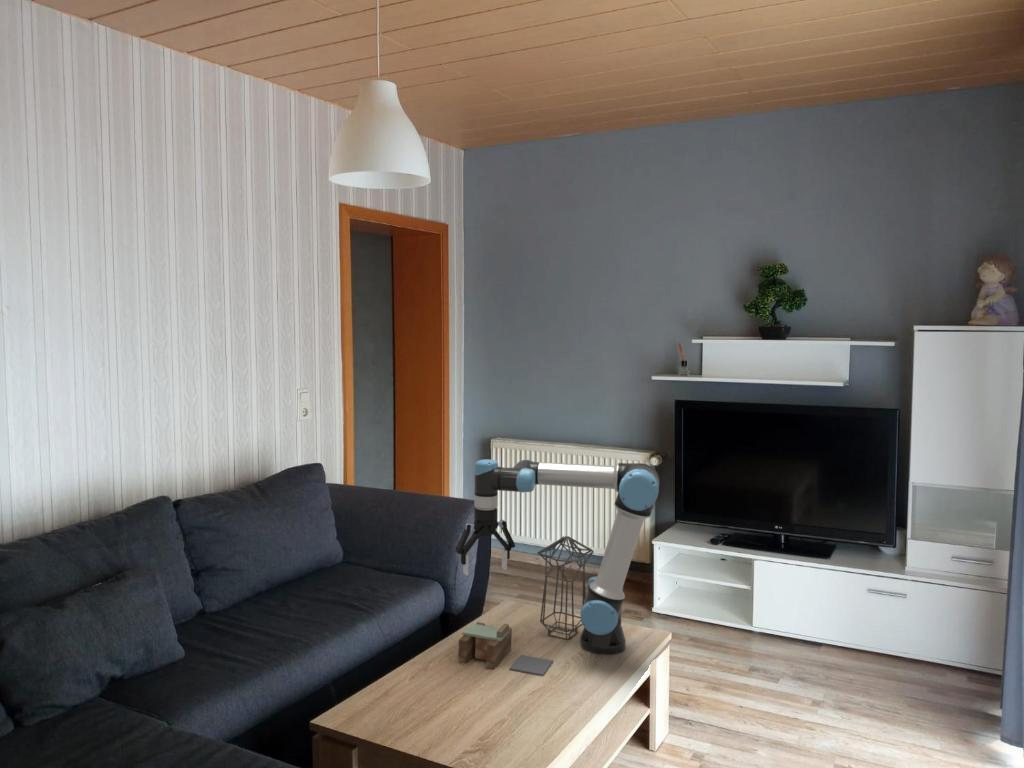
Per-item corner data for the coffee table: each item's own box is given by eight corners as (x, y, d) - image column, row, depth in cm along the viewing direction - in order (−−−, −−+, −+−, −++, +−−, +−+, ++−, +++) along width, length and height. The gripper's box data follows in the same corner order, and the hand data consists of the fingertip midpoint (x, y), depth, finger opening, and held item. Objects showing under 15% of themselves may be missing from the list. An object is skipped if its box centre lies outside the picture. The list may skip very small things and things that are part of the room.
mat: (553, 662, 261) (553, 660, 261) (543, 676, 250) (543, 674, 250) (520, 656, 264) (520, 654, 264) (509, 670, 254) (509, 668, 254)
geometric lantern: (592, 632, 286) (597, 535, 282) (571, 648, 273) (575, 546, 269) (553, 621, 295) (557, 526, 291) (530, 636, 281) (534, 537, 277)
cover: (509, 632, 264) (509, 623, 264) (500, 641, 257) (500, 632, 257) (471, 625, 269) (472, 617, 268) (462, 634, 261) (462, 626, 261)
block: (495, 654, 265) (495, 633, 264) (489, 660, 260) (490, 639, 260) (480, 652, 267) (481, 631, 266) (475, 658, 262) (475, 636, 261)
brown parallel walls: (511, 649, 269) (511, 627, 268) (493, 669, 254) (494, 646, 253) (477, 643, 273) (477, 622, 272) (458, 662, 258) (458, 639, 257)
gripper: (516, 502, 275) (515, 563, 276) (445, 508, 265) (445, 572, 266) (525, 506, 268) (524, 570, 270) (453, 513, 258) (453, 579, 259)
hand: (485, 571), depth 268 cm, fingers open, 13 cm apart
